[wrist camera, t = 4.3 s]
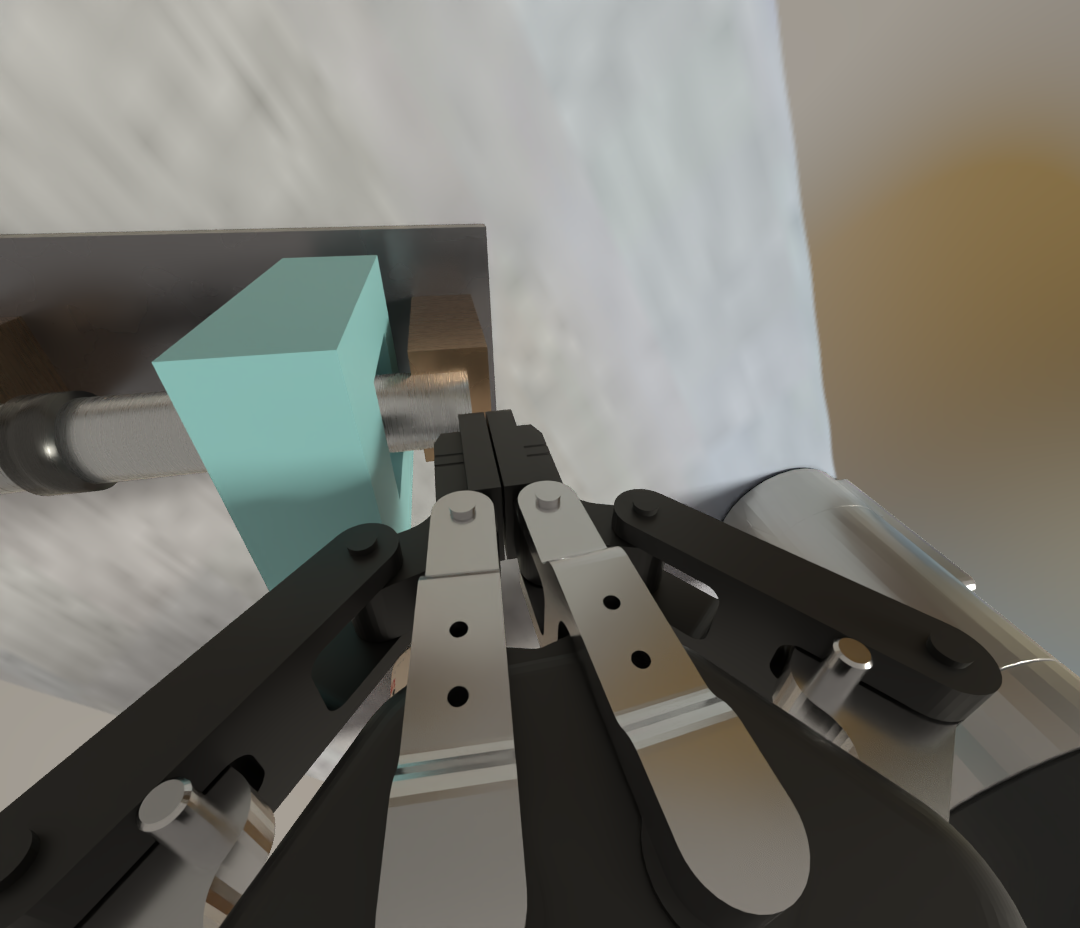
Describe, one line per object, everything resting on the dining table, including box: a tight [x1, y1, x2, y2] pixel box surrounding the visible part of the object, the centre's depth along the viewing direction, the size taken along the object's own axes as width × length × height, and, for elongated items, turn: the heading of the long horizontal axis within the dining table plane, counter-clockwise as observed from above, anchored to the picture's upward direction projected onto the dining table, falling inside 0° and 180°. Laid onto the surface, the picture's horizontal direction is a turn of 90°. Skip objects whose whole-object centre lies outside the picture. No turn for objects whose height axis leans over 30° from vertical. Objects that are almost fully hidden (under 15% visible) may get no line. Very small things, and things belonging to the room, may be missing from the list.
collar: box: [152, 255, 413, 591], centre depth 14 cm, size 3×8×9 cm, turn 0°
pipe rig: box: [0, 224, 496, 496], centre depth 16 cm, size 20×9×8 cm, turn 90°
